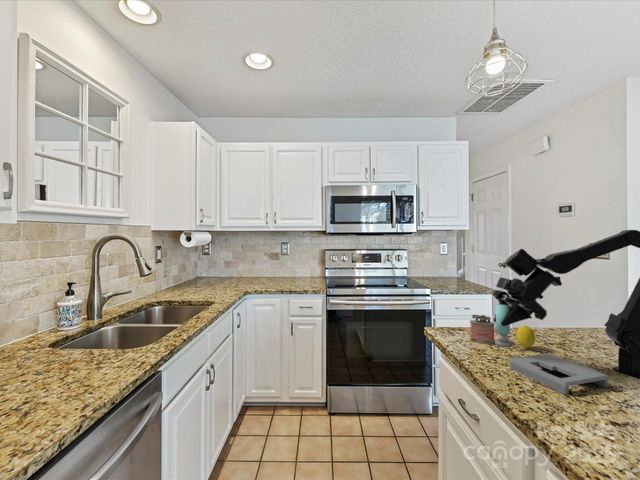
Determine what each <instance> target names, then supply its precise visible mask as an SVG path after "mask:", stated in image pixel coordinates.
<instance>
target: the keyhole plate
mask: <svg viewBox="0 0 640 480" xmlns="http://www.w3.org/2000/svg"><path fill="white" fill-rule="evenodd" d="M509 366H510V367H509V368H510V370H513V371H514V372H516V373H518V374H521V375H522V376H525V377H527V378H528V379H529V378H530V379H531V380H533V381H535V382H537V383H539V384H542V385H544V386H546V387H548V388H550V389H552V390H554V391H557V392H558V393H561V394H563V395H565V396H566V395H569V393H570V391H569V388H570V387H571V386H576V385H581V384H587V383H593V384H595V385H597V386H600V387H603V388H608V387H609V384H608V383H609V381H608V379H609V378H608V374H605V373H603V372H600V371H597V370H594V369H592V368H589V367H586V366H584V365H580V364H578V363H576V362H572V361H570V360H567V359H565V358H561V357H558V356H556V355H554V354H550V353H549V352H548V353H541V354H534V355H526V356H519V357H513V358H510V363H509ZM543 368H545V369H548V370H550V371H557V372H560V373H562V374H565V375H567V376H568V377H558V376H556V375H553V374H551V373H549V372H546V371H544V370H543Z"/></svg>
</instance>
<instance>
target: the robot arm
mask: <svg viewBox="0 0 640 480" xmlns="http://www.w3.org/2000/svg"><path fill="white" fill-rule="evenodd" d="M630 246H632V247H635V248H638V249H640V231H639V230H637V229H625V230H622V231H620V232H619V233H616V234H613V235H611V236H608V237H605V238H602V239H600V240H597V241H594V242H592V243H589V244H586V245H584V246H582V247H581V246H580V247H579V248H576V249H571V250H566V251H564V250H563V251H559V252H554V253H551V254H548V255H547V256H545V257H544V258H537V259H536V258H534V257H533V256H532V255H530V254H529V253H528V252H527V251H526V250H525V249H523V248H519V250H517V251H516V252H515V253H513V254H511V255H510V256H509V257H508V258H506V260H505V261H504V265H505V266H507V267H508V268H509V269H510V270H511V271H513V272H514V273H516V274H517V275H518V276H519V277H521V276H525V277H526V276H527V277H526V278H525V279H524V280H522V279H520V278H515V277H514V278H513V279H509V278H505V277H502V276H501V277H499V279H498V281H497V284H496V285H495V286H496V288H498V289H497V290H494V291H493V292H492V296H493V298H495V299H496V300H497V301H498V303H499V304H500V305H508V306H509V313H508V314H507V315H506V317H505V318H504V319H503V321H502V322H501V325H502V326H506V325H509V324H510V325H513V324H514V323H518V322H520V321H524V320H528V319H533V317H532V314H534V318H536V319H538V320H540V321H543V320H544V319H545V318H546V317H547V316H548V315H547V314H548V311H547V310H546V309H545V308H544V307H543V306H542V305H541V304H540V303H539V302H538V301H537V300H538V299H540V300H542V299H543V298H544V296H543V294H544V292H545V291H546V290H547V289H548V288H549V287H550V286H551V285H553V286H554V287H558V286H562V285H563V282H562V280H561V277H560V276H555V275H554V274H553V273H555V274H558V275H565V274H568V273H570V272H572V271H574V270H575V269H578V267H580V266H582V265H583V264H584V263H586V262H588V261H590V260H593V259H596V258H598V257H599V258H600V257H601V256H604V255H607V254H611V253H613V252H616V251H618V250H621V249H624V248H626V247H630ZM542 268H543V269H546V270H543V269H542ZM549 271H550V272H549ZM551 272H552V273H551ZM500 289H502V290H500ZM505 290H506V291H505ZM499 304H498V305H499ZM493 321H494V322H493V323H494V324H496V314H495V316H494V318H493ZM603 324H604V325H603V326H605V329H604V330H605V333H606V335H607V337H609V339H610V340H612V341H613V343H614V345H615V346H617V347H618V350H617V351H618V352H617V353H618V356H617V359H618V361H617V362H618V363H617V364H618V366H614V367H612V370H614V371H617V372H620V373H623V374H626V375H628V376H632V377H635V378H637V379H640V277H639V278H638V280H637V282H636V285H635V286H634V287H633V290H632V292H631V294H630V296H629V298H628V300H627V302H626V304H625V305H624V308H623V310H622V311H621V312H619V313H617V314H614V313H610V314H609V315H608V319H607V321H606V322H605V323H603Z"/></svg>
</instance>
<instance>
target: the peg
mask: <svg viewBox="0 0 640 480" xmlns="http://www.w3.org/2000/svg"><path fill="white" fill-rule="evenodd" d="M508 313H509V306H508V305H500V304H495V315H496V323H495V328H496V330H495V331H496V333H497V334H498V338H497V339H494V341H495V344H494V345H495V346H497V347H501V348H512V346H513V343H512V341H511V340H508V339H509V337H508V336H509V334H511V326H510V325H511V324H509V325H506V326H502V325H501V322H502V321H503V319H504V318H505V317H506V315H507V314H508Z"/></svg>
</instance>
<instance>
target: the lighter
mask: <svg viewBox="0 0 640 480" xmlns="http://www.w3.org/2000/svg"><path fill="white" fill-rule="evenodd" d="M471 318H472V319H470V320H469V324H470V337H469V340H470V342H471V343H472V342H473V343H477V344H483V345H495V322H492V318H491V316H486V315H485V314H481V315H480V314H471Z"/></svg>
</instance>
